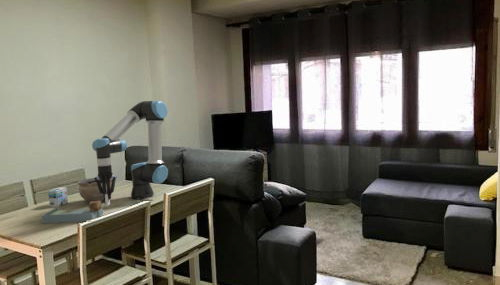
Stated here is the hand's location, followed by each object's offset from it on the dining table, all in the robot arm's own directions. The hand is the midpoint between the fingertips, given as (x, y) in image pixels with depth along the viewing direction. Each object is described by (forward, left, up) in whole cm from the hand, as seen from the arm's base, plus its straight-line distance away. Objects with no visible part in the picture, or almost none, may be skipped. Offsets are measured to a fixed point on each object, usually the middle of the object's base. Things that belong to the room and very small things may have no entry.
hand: (108, 204), depth 245 cm
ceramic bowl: (+21, -34, -6) cm, 40 cm away
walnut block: (+8, 0, -3) cm, 8 cm away
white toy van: (+45, -29, -6) cm, 54 cm away
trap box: (+19, +3, -6) cm, 21 cm away
